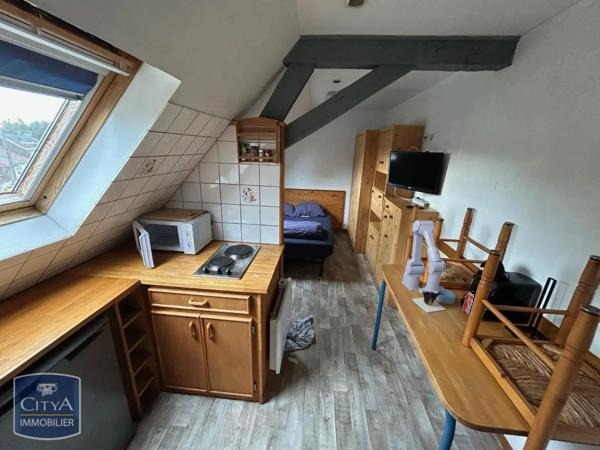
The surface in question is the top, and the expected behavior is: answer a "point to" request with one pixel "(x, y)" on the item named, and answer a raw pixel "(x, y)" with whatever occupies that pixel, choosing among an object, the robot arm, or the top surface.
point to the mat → (429, 312)
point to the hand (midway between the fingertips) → (428, 302)
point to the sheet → (428, 305)
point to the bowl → (446, 297)
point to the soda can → (468, 303)
